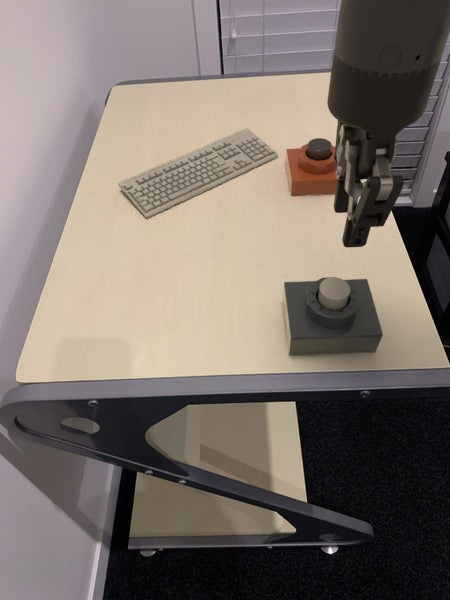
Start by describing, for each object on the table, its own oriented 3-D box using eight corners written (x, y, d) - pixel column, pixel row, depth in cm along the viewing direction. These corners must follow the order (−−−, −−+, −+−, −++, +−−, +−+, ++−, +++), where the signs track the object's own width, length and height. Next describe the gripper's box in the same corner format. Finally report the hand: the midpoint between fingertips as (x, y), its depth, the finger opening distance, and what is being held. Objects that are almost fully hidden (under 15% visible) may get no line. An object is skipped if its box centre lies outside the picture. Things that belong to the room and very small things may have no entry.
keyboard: (146, 219, 73) (144, 210, 72) (119, 190, 79) (117, 181, 77) (278, 157, 83) (279, 147, 81) (246, 135, 88) (246, 126, 87)
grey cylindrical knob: (344, 287, 54) (347, 276, 52) (350, 310, 52) (353, 299, 50) (315, 288, 54) (317, 277, 53) (320, 311, 52) (322, 300, 50)
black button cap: (328, 148, 76) (329, 137, 74) (331, 161, 73) (333, 150, 71) (305, 149, 76) (306, 138, 74) (308, 162, 73) (309, 151, 72)
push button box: (361, 297, 60) (370, 268, 55) (376, 352, 54) (387, 324, 50) (282, 300, 60) (284, 271, 56) (288, 355, 55) (291, 328, 50)
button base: (338, 160, 81) (342, 135, 77) (348, 193, 75) (353, 168, 71) (285, 163, 81) (286, 138, 77) (290, 195, 75) (292, 171, 71)
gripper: (479, 88, 26) (404, 277, 39) (413, 7, 35) (370, 183, 48) (354, 96, 26) (321, 280, 40) (320, 13, 35) (303, 186, 49)
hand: (348, 226), depth 44 cm, fingers open, 4 cm apart
